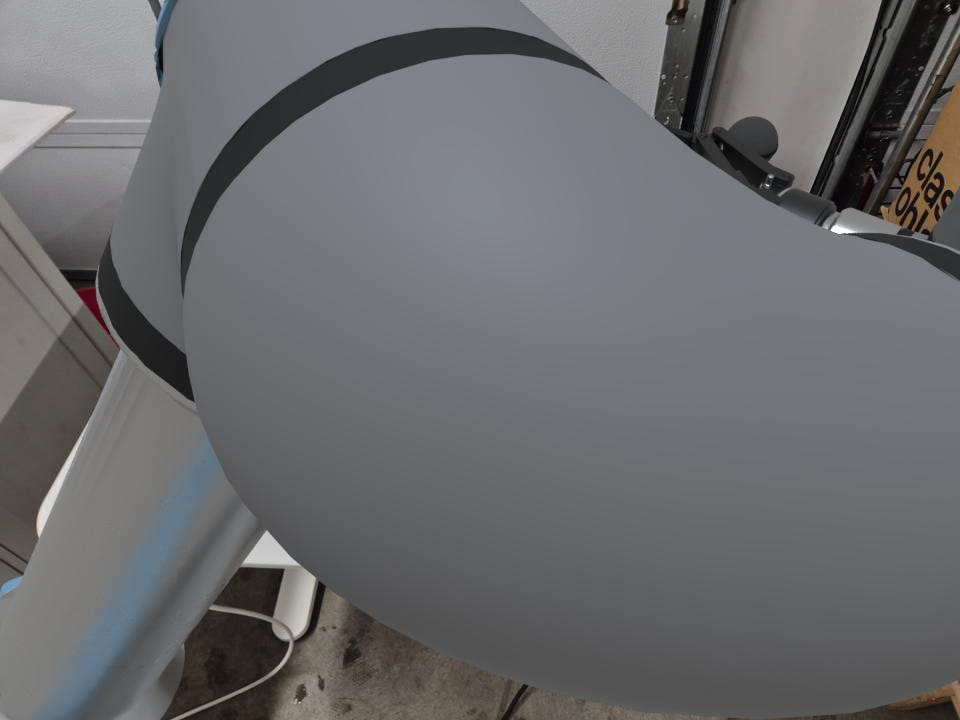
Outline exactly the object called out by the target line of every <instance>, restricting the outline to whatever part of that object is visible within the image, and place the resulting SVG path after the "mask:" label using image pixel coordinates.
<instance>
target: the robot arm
mask: <svg viewBox="0 0 960 720" xmlns="http://www.w3.org/2000/svg"><path fill="white" fill-rule="evenodd" d="M154 47H155V49H156V50H155V52H154V53H153V57H154V60H153V61H154V62H155V72H156V77H157V83H158V85H159V89H160V90H159V94H158V97H157V101H156V104H155V108H154V111H153V114H152V118H151V121H150V124H149V126H148V129H147V132H146V134H145V137H144V140H143V143H142V145H141V148H140V151H139V153H138V155H137V158H136V161H135V164H134V167H133V168H132V172H131V175H130V178H129V180H128V183H127V186H126V188H125V191H124V194H123V197H122V199H121V202H120V204H119V207H118V210H117V212H116V216H115V218H114V221H113V223H112V227H111V229H110V233H109V236H108V238H107V242H106V244H105V247H104V249H103V252H102V255H101V257H100V260H99V263H98V267H97V272H96V276H95V294H96V295H95V296H96V302H97V305H98V309H99V312H100V314H101V318H102V319H103V321H104V323H105V325H106V327H107V329H108V331H109V333H110V335H111V337H112V338H113V340H114V341H115V343H116V344H117V346H118V347H119V351H118V353H117V355H116V359H115V360H114V363H113V365H112V368H111V370H110V372H109V375H108V377H107V379H106V382H105V384H104V387H103V388H102V391H101V393H100V396H99V398H98V400H97V403H96V405H95V407H94V410H93V412H92V414H91V417H90V419H89V420H88V424H87V426H86V428H85V430H84V433H83V435H82V437H81V439H80V442H79V444H78V447H77V449H76V451H75V453H74V456H73V459H72V461H71V463H70V465H69V468H68V470H67V473H66V475H65V477H64V479H63V481H62V484H61V486H60V489H59V491H58V493H57V495H56V498H55V500H54V503H53V505H52V507H51V510H50V512H49V515H48V516H47V519H46V521H45V523H44V526H43V528H42V530H41V533H40V535H39V538H38V540H37V541H36V544H35V547H34V549H33V551H32V553H31V556H30V558H29V560H28V563H27V565H26V568H25V570H24V573H23V574H22V575H21V576H18V577H15V578H12V579H10V580H8V581H6V582H4V583H3V584H2V585H1V588H0V720H161V719H162V718H163V716H165V713H166V712H167V711H168V709H169V707H170V706H171V704H172V702H173V700H174V697H175V695H176V693H177V691H178V689H179V686H180V683H181V681H182V678H183V674H184V673H183V672H184V668H185V659H186V650H185V642H186V641H187V640H188V638H189V637H190V636H191V634H192V633H193V631H194V630H195V629H196V627H198V625H199V623H200V622H201V620H202V619H204V617H205V615H206V614H207V613H208V611H209V610H210V608H211V607H212V606H213V605H214V603H215V602H216V600H218V599H217V598H218V597H219V596H220V594H222V592H223V590H224V589H225V587H227V585H228V584H229V582H230V581H231V579H232V578H233V577H234V575H235V574H236V573H237V572H238V570H239V569H240V568H241V566H242V565H243V563H244V562H245V560H246V559H247V558H248V556H249V555H250V554H251V552H252V551H253V549H254V548H255V547H256V545H257V544H258V543H259V541H260V540H261V538H262V537H263V536H264V534H265V533H266V532H268V533H269V534H270V536H271V537H272V538H273V539H274V540H275V541H276V542H277V544H279V546H280V547H281V548H282V549H283V551H285V552H286V554H287V555H288V556H289V557H290V558H291V559H292V560H293V561H295V562H296V563H297V564H298V565H300V567H302V568H303V569H305V570H306V571H307V572H308V573H309V574H311V576H313V577H314V578H315V579H317V581H319V582H320V583H321V584H322V585H324V586H325V587H326V588H328V590H330V591H331V592H332V593H333V594H335V595H337V596H338V597H340V598H342V599H343V600H344V601H346V602H348V603H349V604H351V605H352V606H354V607H355V608H357V609H359V610H360V611H361V612H363V613H365V614H366V615H368V616H369V617H371V618H373V619H374V620H375V621H377V622H378V623H380V624H382V625H383V626H386V627H388V628H390V629H392V630H394V631H396V632H397V633H400V634H401V635H404V636H405V637H407V638H409V639H411V640H413V641H415V642H417V643H419V644H420V645H423V646H424V647H427V648H428V649H431V650H433V651H434V652H437V653H439V654H441V655H445V656H447V657H450V658H452V659H454V660H456V661H459V662H462V663H464V664H466V665H468V666H472V667H474V668H476V669H479V670H481V671H483V672H486V673H488V674H491V675H494V676H497V677H501V678H502V679H503V678H504V679H507V680H510V681H513V682H515V683H516V682H517V683H520V684H523V685H526V686H530V687H532V688H536V689H539V690H542V691H545V692H548V693H552V694H556V695H558V696H563V697H568V698H574V699H579V700H584V701H587V702H588V701H589V702H593V703H598V704H603V705H606V706H611V707H617V708H621V709H626V710H630V711H636V712H641V713H644V714H657V715H658V714H659V715H660V714H661V715H677V716H691V717H693V716H696V717H708V718H709V717H711V718H712V717H713V718H726V719H727V718H728V719H730V718H731V719H743V720H745V719H746V720H773V719H788V718H801V717H802V718H804V717H816V716H817V717H819V716H831V715H832V716H833V715H847V714H854V713H858V712H863V711H866V710H871V709H874V708H880V707H883V706H886V705H891V704H896V703H899V702H903V701H907V700H911V699H915V698H916V699H917V698H918V697H921V696H923V695H925V694H928V693H930V692H933V691H935V690H938V689H940V688H943V687H945V686H948V685H950V684H952V683H955V682H957V681H959V680H960V186H958V188H957V190H956V192H955V193H954V195H953V196H952V198H951V200H950V201H949V203H948V204H947V206H946V208H945V209H944V211H942V214H941V215H940V217H939V219H938V220H937V222H936V224H935V225H934V226H933V228H932V230H931V231H930V233H929V235H927V234H924V233H921V232H917V231H914V230H911V229H908V228H906V227H903V226H901V225H899V224H896V223H893V222H890V221H888V220H885V219H883V218H880V217H878V216H875V215H872V214H869V213H866V212H864V211H861V210H860V209H857V208H853V207H847V208H845V209H842V210H841V211H840V212H839V211H837V209H838V208H837V206H836V205H835V202H834V201H832V200H830V199H827V198H824V197H822V196H819V195H816V194H813V193H811V192H808V191H805V190H802V189H800V188H797V187H796V188H795V187H794V188H792V187H793V184H794V181H795V179H796V177H795V175H794V174H793V173H791V172H788V171H786V170H784V169H781V168H779V167H778V166H775V165H773V164H772V163H771V162H770V161H766V160H765V159H764V158H763V157H761V156H760V155H759V154H757V153H756V152H755V151H753V150H752V149H751V148H749V147H748V146H747V145H746V144H744V143H743V142H742V141H740V140H739V139H738V138H736V137H735V136H734V135H733V134H731V133H730V132H729V131H728V130H727V129H726V128H725V127H722V126H714V127H713V128H712V129H711V132H710V133H706V132H699V133H697V134H694V133H691V132H688V131H687V130H683V129H679V128H677V127H674V126H670V125H667V124H664V123H661V122H659V121H658V120H657V119H655V118H654V117H653V116H652V115H650V113H649V112H647V111H646V110H645V109H643V108H642V107H641V106H640V105H639V104H637V102H635V101H634V100H632V99H631V98H630V97H628V95H626V94H625V93H623V92H622V91H620V90H619V89H618V88H616V87H615V86H613V85H612V84H611V83H610V82H609V81H608V80H607V79H606V78H604V76H603V75H601V74H600V72H599V71H597V69H595V68H594V67H593V66H592V65H591V64H590V63H589V62H588V61H587V60H586V59H585V58H583V57H582V56H581V55H580V54H579V53H578V52H577V51H575V49H573V48H572V47H571V46H570V45H569V44H568V43H567V42H566V41H564V39H563V38H561V36H559V34H557V32H555V31H554V30H553V29H551V28H550V26H548V25H547V24H546V23H545V22H544V21H543V20H541V18H540V17H538V15H536V14H535V13H534V12H533V11H532V10H531V9H530V8H528V6H526V5H525V4H524V3H523V2H522V1H521V0H164V1H163V4H162V6H161V8H160V11H159V15H158V18H157V22H156V27H155V33H154ZM722 144H723V145H724V148H723V145H722Z"/></svg>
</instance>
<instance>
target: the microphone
mask: <svg viewBox="0 0 960 720" xmlns="http://www.w3.org/2000/svg"><path fill="white" fill-rule="evenodd" d="M727 131H729V132H730V133H731V134H733V135H734V136H735V137H736V138H738V139H739V140H740V141H742V142H743V143H744V144H746V145H747V146H748V147H749V148H751V149H752V150H753V151H755V152H756V153H757V154H759V155H760V156H761V157H763V158H764V159H765V160H766V161H768V162H770V161H771V160H772V158H773V156H775V155H776V154H777V151H778V149H779V134H778V130H777V128H776V127H775V125H774V124H773V123H772V121H770V120H768V119H766V118H764V117H762V116H757V115H756V116H753V115H751V116H747V117H744V118H741V119H739V120H737V121H736V122H734V123H733V124H732V125H730V127H729V128H728V130H727ZM723 148H724V145H723V144H722V149H723Z"/></svg>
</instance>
